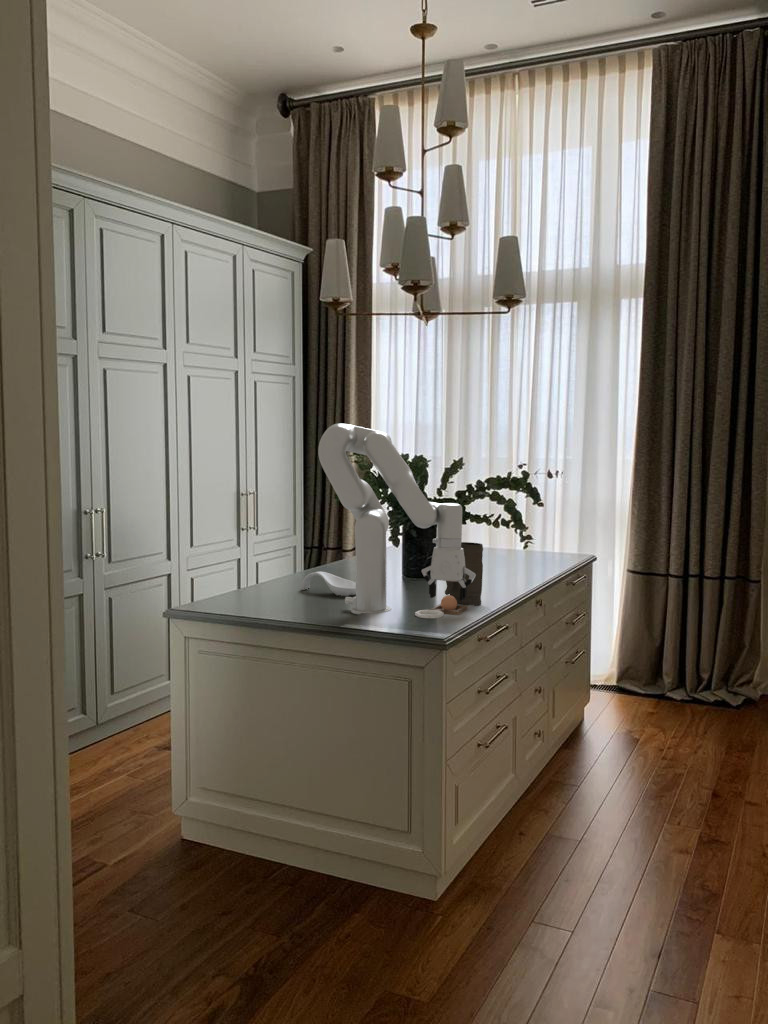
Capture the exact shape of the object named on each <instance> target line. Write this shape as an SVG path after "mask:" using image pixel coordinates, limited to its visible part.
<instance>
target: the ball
mask: <svg viewBox="0 0 768 1024" xmlns="http://www.w3.org/2000/svg"><path fill="white" fill-rule="evenodd" d="M440 604H441V607H442V608H441V609H443V610H456V609H455V608H456V607H457V605H458V604H457V600H456V599H455V598H454V597H453V596H451V595H450V594H449V595H445V596H443V597H442V598H441V600H440Z"/></svg>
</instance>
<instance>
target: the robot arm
mask: <svg viewBox="0 0 768 1024" xmlns="http://www.w3.org/2000/svg"><path fill="white" fill-rule="evenodd" d="M317 449H318V458H319V462H320V465H321V467H322V469H323V471H324V473H325V475H326V477H327V478H328V479H327V480H329V482H330V484H331V487H332V488H333V490H334V492H335V494H336V495H337V497H338V499H339V501H340V503H341V504H342V506H343V507H344V508H345V509H347V510H349V511H350V513H351V515H352V516H353V518H354V520H355V525H354V541H355V544H354V545H355V582H356V594H355V596H353V597H352V596H345V598H344V604H346V605H352V607H351V608H350V613H352V614H354V615H361V614H381V613H386V612H390V611H392V607H391V606H388V605H387V531H388V529H389V527H390V520H389V517H388V514H387V512H386V511H385V509H384V508H383V506H382V504H381V502H380V501H379V499H378V497H377V495H376V493H375V491H374V490H373V488H372V486H370V484H369V483H368V482H367V481H365V480H364V479H361V478H360V476H359V475H358V473H357V471H356V470H355V467H354V465H353V464H352V462H351V461H350V459H349V457H348V455H347V452H349V453H355V454H359V455H364V456H367V458H368V459H369V460H370V462H371V463H372V465H373V466H374V467H375V468H376V470H377V472H378V473H379V475H380V476H381V477H382V479H383V481H384V482H385V484H386V485H387V486H388V488H389V490H390V491H391V493H392V495H394V497H395V498H396V500H397V501H398V503H399V505H400V506H401V507H402V509H403V510H404V512H405V514H406V515H407V517H408V518H409V519H410V520H411V522H412V523H413V524H414V526H416V527H417V528H420V529H428V528H430V527H432V526H434V525H436V526H437V527H436V529H437V530H436V538H433V539H432V543H433V544H435V546H434V547H433V551H432V555H431V556H432V557H431V562H430V565H429V566H427V567H425V568H422V569H421V573H422V575H423V578H424V580H425V581H426V583H427V584H428V585H429V588H428V589H429V590H428V594H429V595H430V596H429V597H430V598H431V599H432V598H435V597H436V595H437V583H435V582H436V581H441V582H443V581H444V582H446V581H453V582H459V583H460V585H461V586H462V587H461V588H460V601H463V600H465V598H466V597H467V586H468V585H470V584H471V583H472V582H473V580H474V578H475V576H476V574H475V573H474V572H472V571H470V570H469V569H467V568H466V567H465V556H464V550H463V548H461V542H463V541H462V538H463V537H462V535H463V533H462V532H463V506H462V505H461V504H459V503H456V502H443V503H439V502H434V501H429V500H428V499H427V497H426V496H425V495H424V494H423V491H422V490H421V489H420V487H419V486H418V484H417V482H416V480H415V477H414V474H413V471H412V469H411V468H410V466H409V465H408V464H407V462H406V461H405V460H404V458H403V457H402V455H401V454H400V453H399V451H398V450H397V448H396V447H395V445H394V444H393V441H392V438H391V436H390V435H389V434H388V433H387V432H385V431H382V430H377V429H371V428H365V427H363V426H359V425H358V426H357V425H353V424H348V423H341V422H340V423H334V424H332V425H330V426H329V427H328V428H327V429H326V430H325V431H324V433H323V434H322V436H321V438H320V440H319V444H318V448H317ZM429 571H430V574H429ZM465 573H466V574H468V575H469V579H468V580H467V581H466V580H465V579H464V578H465Z"/></svg>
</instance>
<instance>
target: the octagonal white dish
mask: <svg viewBox="0 0 768 1024" xmlns="http://www.w3.org/2000/svg"><path fill="white" fill-rule="evenodd" d="M414 614H415V616H416V617H417V618H421V619H440V618H443V616H444V615H445V614H444V612H442V611H439V610H430V609H422V610H421V609H420V610H419V609H418V611H415V612H414Z"/></svg>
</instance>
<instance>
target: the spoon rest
mask: <svg viewBox="0 0 768 1024" xmlns="http://www.w3.org/2000/svg"><path fill="white" fill-rule="evenodd" d="M316 576H317V577H318V576H319V577H321V578H322V579H323V581H324V582H325V583H326V585H327V586H328V587H327V588H328V589H329V590H330V592H332V593H334V594H335V595H336V596H338V595H341V596H340V597H350V596H349V595H352V596H356V581H353V580H349V579H347V578H346V579H345V578H343V577H341V576H338V575H334V574H332V573H329V572H326V571H315V572H310V573H309V574H307V575H306V576H305V577H304V578H303V580H301V581H302V582H301V585H300V591H305V590H304V589H307V590H309V589H308V588H311V581H312V579H313V577H316Z"/></svg>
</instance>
